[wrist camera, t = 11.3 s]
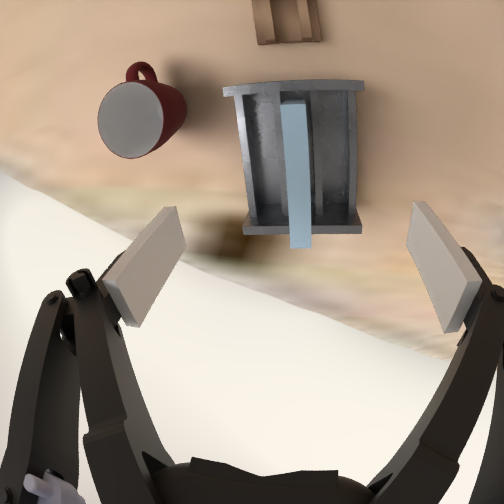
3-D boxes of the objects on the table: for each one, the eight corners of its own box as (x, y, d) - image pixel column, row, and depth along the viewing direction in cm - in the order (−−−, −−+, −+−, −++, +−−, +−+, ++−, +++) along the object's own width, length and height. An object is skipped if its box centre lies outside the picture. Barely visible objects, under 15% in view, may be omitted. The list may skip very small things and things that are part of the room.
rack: (238, 86, 28) (222, 87, 23) (350, 81, 26) (363, 80, 20) (253, 208, 37) (243, 234, 31) (352, 206, 35) (361, 233, 29)
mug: (129, 81, 29) (79, 87, 21) (179, 51, 27) (137, 45, 18) (158, 147, 34) (116, 170, 26) (210, 123, 32) (177, 139, 23)
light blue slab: (287, 98, 28) (279, 105, 18) (303, 98, 27) (305, 103, 17) (295, 195, 34) (290, 248, 24) (309, 195, 34) (311, 248, 24)
